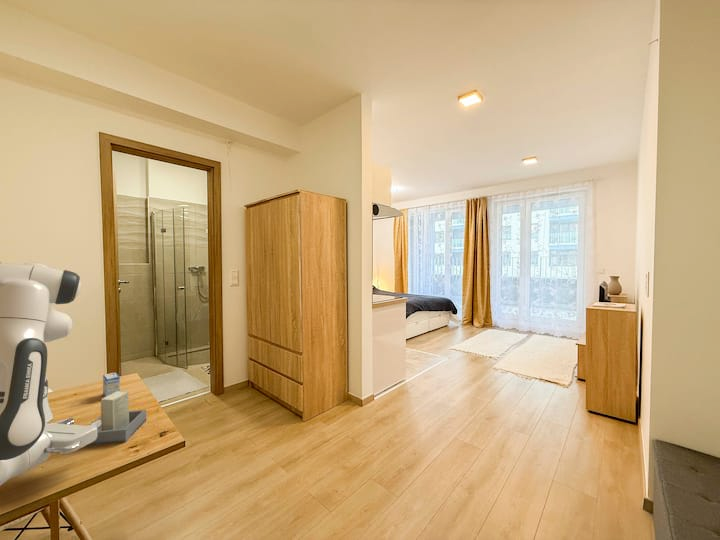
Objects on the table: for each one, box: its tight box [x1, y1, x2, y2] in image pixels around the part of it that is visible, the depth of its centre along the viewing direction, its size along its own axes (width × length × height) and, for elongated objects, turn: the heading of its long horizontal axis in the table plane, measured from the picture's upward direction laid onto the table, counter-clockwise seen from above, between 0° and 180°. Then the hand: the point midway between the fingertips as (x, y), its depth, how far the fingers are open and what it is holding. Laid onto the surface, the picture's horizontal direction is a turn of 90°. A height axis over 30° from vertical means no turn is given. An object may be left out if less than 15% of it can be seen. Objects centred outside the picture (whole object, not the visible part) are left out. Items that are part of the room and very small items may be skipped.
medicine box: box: [102, 372, 121, 397], centre depth 126 cm, size 8×4×9 cm, turn 50°
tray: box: [83, 409, 147, 448], centre depth 98 cm, size 13×13×4 cm
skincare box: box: [100, 390, 130, 431], centre depth 98 cm, size 6×4×12 cm
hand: (85, 421), depth 89 cm, fingers open, 8 cm apart
